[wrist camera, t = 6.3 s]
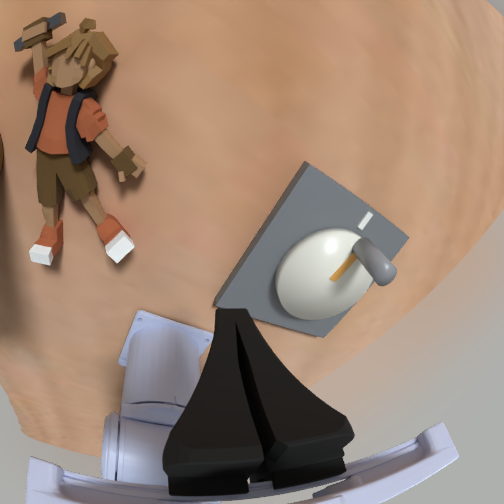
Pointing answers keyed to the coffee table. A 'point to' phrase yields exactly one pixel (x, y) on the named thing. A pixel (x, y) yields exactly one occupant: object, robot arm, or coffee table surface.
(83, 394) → the coffee table surface
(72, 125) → the character figurine
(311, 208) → the stand plate
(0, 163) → the plant pot
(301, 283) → the dial
